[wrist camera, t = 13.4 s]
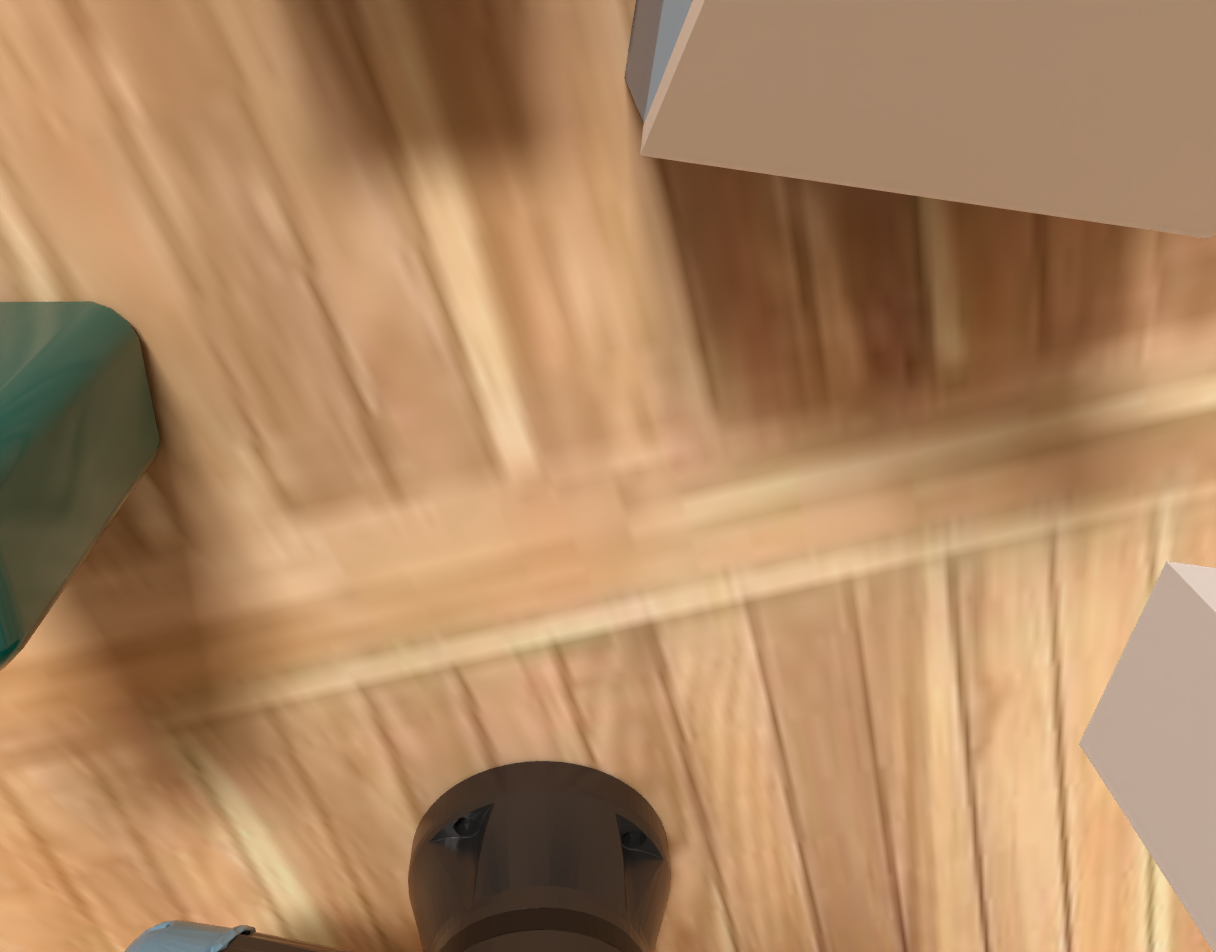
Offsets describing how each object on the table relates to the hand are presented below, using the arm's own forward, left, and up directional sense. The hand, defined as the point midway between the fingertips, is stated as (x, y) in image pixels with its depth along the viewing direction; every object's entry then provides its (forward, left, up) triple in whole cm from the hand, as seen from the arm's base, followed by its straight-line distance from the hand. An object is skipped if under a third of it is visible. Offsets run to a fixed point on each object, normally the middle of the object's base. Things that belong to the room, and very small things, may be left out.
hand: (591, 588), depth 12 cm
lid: (+7, -13, -17) cm, 22 cm away
